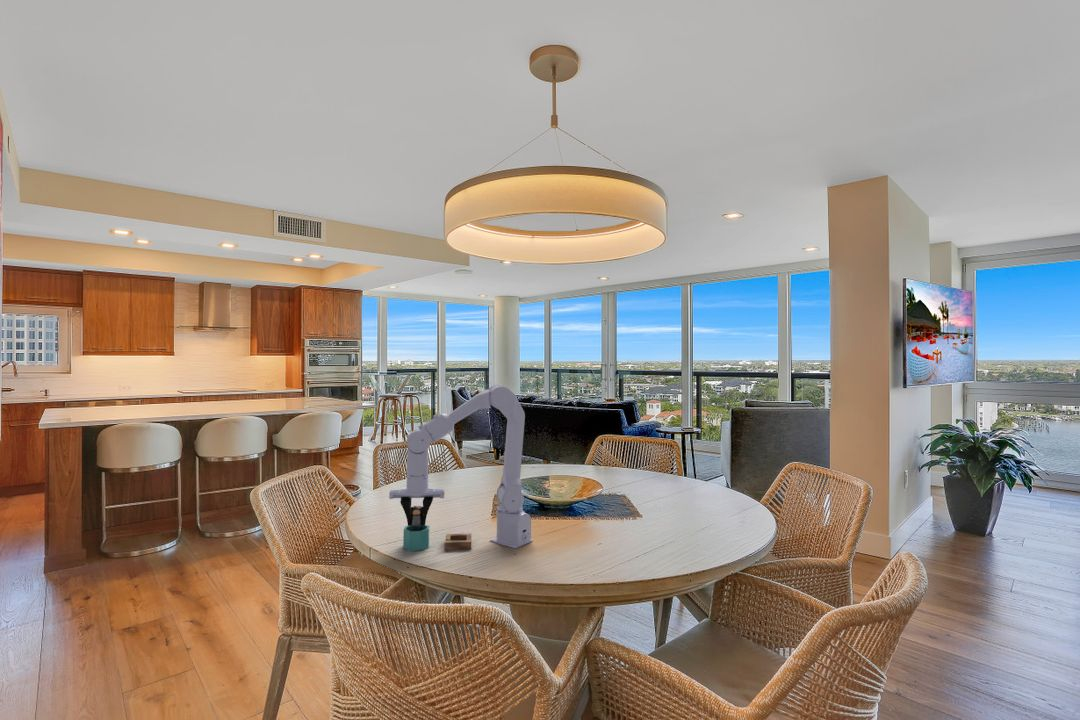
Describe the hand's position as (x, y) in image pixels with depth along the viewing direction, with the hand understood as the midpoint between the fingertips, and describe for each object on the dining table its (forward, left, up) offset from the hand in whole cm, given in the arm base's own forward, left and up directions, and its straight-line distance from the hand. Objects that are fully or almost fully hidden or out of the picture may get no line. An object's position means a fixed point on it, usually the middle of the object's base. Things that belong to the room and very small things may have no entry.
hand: (416, 524), depth 146 cm
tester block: (-8, -8, -6) cm, 13 cm away
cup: (0, 0, -6) cm, 6 cm away
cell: (0, 0, -3) cm, 3 cm away
